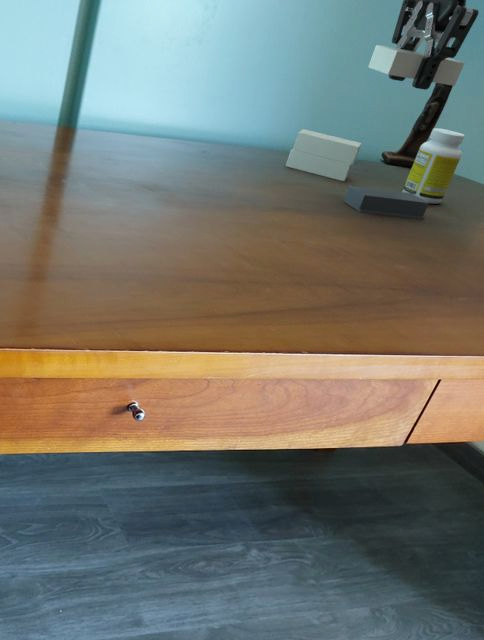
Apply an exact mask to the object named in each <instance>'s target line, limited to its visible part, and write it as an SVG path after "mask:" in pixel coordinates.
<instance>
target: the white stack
mask: <svg viewBox="0 0 484 640" xmlns="http://www.w3.org/2000/svg"><path fill="white" fill-rule="evenodd" d="M362 144H363V143H362V142H359V141H354V140H350V139H346V138H342V137H338V136H333V135H329V134H325V133H322V132H317V131H312V130H310V129H309V130H308V129H306V128H303V129H301V130H300V131H299V132H298V134H297V136H296V140H295V141H294V145H293V147H292V148H291V149H290V151H289V155H288V158H287V160H286V163H285V167H287V168H291V169H295V170H298V171H302V172H307V173H310V174H313V175H318V176H321V177H325V178H330V179H333V180H336V181H337V180H338V181H340V182H345V181H346V179H347V178H348V176H349V173H350V171H351V169H352V168H351V167H352V165H354V163H355V161H356V160H357V157H358V155H359V152H360V149H361V147H362Z"/></svg>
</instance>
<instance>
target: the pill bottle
mask: <svg viewBox="0 0 484 640" xmlns="http://www.w3.org/2000/svg"><path fill="white" fill-rule="evenodd" d="M429 139H430V140H429V141H428V140H427V142H425V143H423V144H422V145H421V147H420V149H419V151H418V154H417V156H416V159H415V161H414V164H413V166H412V167H410V171H409V174H408V176H407V177H406V181H405V183H404V186H403V188H402V191H401V192H406V193H412V194H414V195H415V196H417V197H419V198H421V199H423V200H424V201H426V202H428V203H429V204H430V205H436V204H440V203H441V202H442V201H443V199H444V198H445V195H446V192H447V190H448V188H449V186H450V183H451V180H452V178H453V177H454V174H455V172H456V170H457V168H458V164H459V163H460V160H461V158H462V151H461V149H460V148H459V145H462V143H463V142H464V139H465V134H463V133H461V132H458V131H454V130H450V129H445V128H441V127H440V128H438V127H437V128H436V127H434V129H433V130H432V132H431V135H430V136H429ZM429 204H428V205H429Z"/></svg>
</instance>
